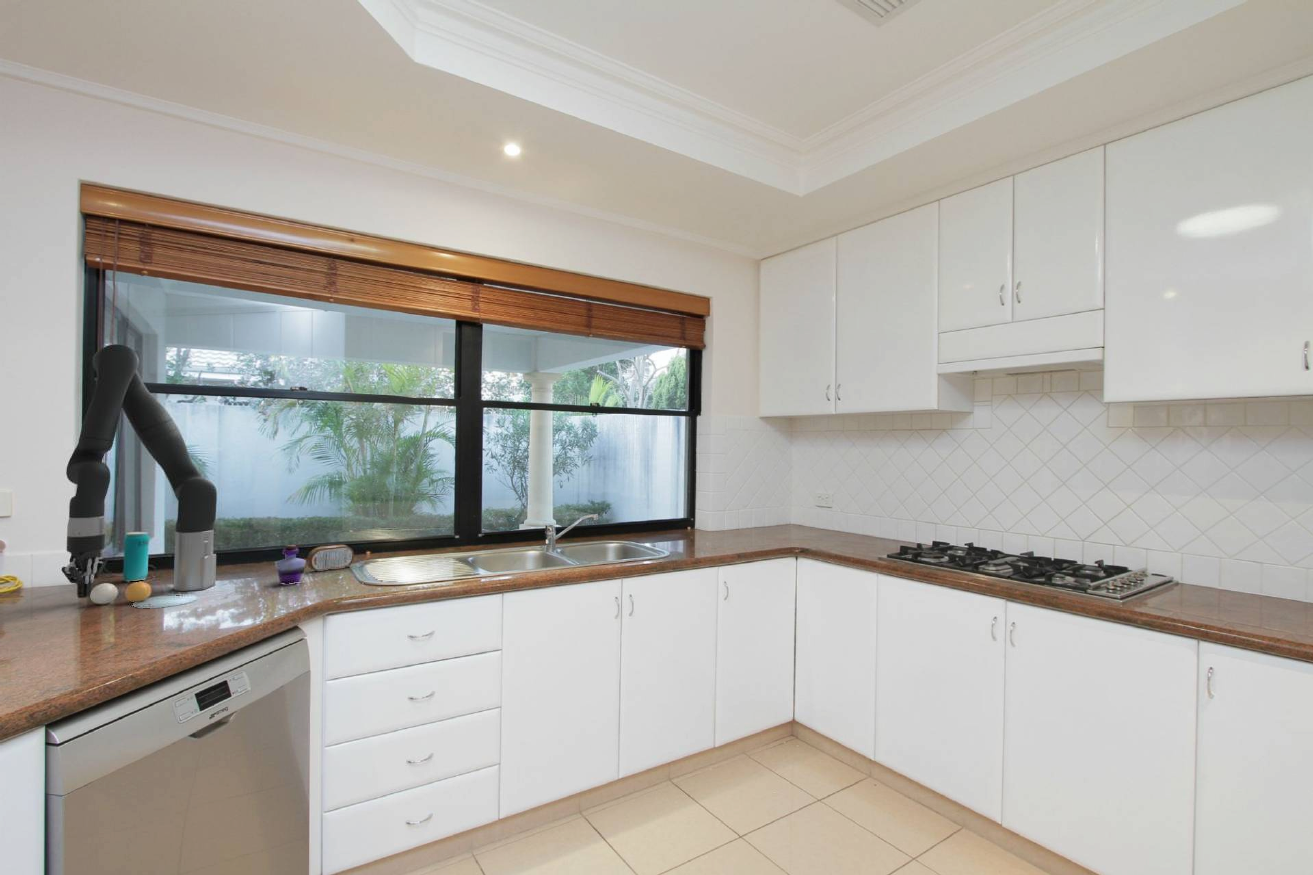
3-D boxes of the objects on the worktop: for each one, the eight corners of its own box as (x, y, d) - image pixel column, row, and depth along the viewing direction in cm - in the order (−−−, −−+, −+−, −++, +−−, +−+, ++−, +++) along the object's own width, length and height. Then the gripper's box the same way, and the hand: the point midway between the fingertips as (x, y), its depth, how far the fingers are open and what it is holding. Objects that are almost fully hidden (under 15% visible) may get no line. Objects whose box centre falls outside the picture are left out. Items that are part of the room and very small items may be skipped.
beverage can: (152, 579, 191) (153, 531, 192) (135, 583, 186) (136, 534, 186) (135, 578, 192) (137, 531, 192) (118, 582, 186) (119, 533, 186)
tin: (351, 566, 218) (351, 542, 218) (355, 567, 216) (355, 544, 216) (306, 572, 206) (306, 547, 207) (309, 573, 204) (310, 549, 205)
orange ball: (144, 603, 168) (160, 589, 169) (130, 608, 163) (147, 594, 163) (129, 589, 168) (145, 575, 168) (115, 594, 162) (131, 580, 163)
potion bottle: (311, 582, 193) (312, 544, 193) (285, 587, 185) (286, 548, 185) (293, 578, 196) (294, 542, 197) (267, 584, 189) (268, 545, 189)
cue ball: (101, 580, 165) (109, 598, 167) (80, 591, 160) (89, 609, 161) (118, 578, 164) (126, 596, 166) (98, 588, 159) (106, 607, 161)
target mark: (208, 594, 175) (208, 594, 175) (177, 608, 161) (177, 607, 161) (154, 595, 173) (154, 594, 173) (118, 609, 159) (118, 608, 159)
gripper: (82, 537, 158) (80, 603, 158) (119, 529, 171) (117, 591, 171) (49, 537, 157) (47, 603, 157) (89, 529, 170) (87, 591, 170)
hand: (84, 597), depth 164 cm, fingers closed
